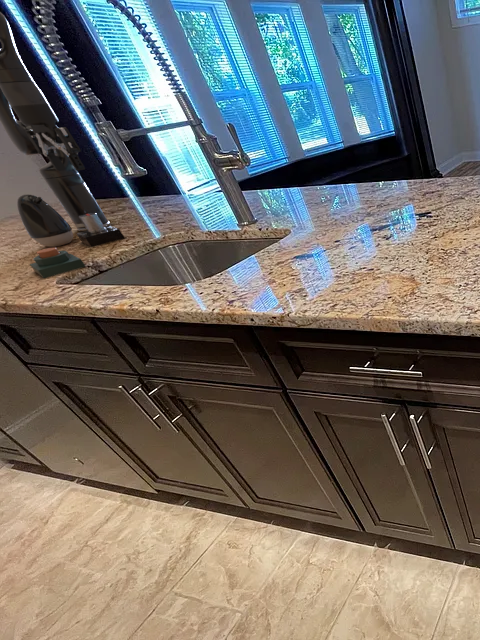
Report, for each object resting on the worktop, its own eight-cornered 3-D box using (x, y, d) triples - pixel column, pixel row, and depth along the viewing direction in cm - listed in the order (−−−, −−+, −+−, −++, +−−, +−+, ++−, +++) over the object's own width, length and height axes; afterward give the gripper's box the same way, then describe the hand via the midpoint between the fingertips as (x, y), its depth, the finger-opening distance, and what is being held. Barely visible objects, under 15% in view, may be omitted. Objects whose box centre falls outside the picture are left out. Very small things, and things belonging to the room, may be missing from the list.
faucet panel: (82, 242, 137) (75, 232, 135) (114, 234, 143) (109, 225, 141) (91, 247, 132) (84, 236, 130) (125, 238, 138) (118, 228, 136)
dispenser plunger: (39, 257, 113) (35, 251, 112) (58, 253, 116) (54, 246, 115) (43, 260, 111) (38, 253, 110) (62, 255, 114) (57, 248, 113)
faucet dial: (87, 232, 135) (76, 215, 132) (103, 228, 138) (92, 211, 135) (91, 233, 133) (80, 216, 130) (107, 229, 136) (97, 212, 133)
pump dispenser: (55, 249, 132) (18, 198, 123) (31, 249, 134) (-7, 199, 125) (87, 239, 140) (55, 190, 131) (64, 239, 142) (30, 191, 133)
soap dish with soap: (35, 271, 115) (24, 257, 113) (75, 261, 121) (66, 247, 119) (44, 278, 110) (32, 263, 108) (86, 266, 116) (76, 252, 114)
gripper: (62, 100, 113) (101, 167, 123) (28, 103, 117) (69, 168, 127) (30, 103, 108) (73, 172, 117) (-5, 106, 111) (40, 173, 121)
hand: (71, 170), depth 122 cm, fingers open, 8 cm apart
